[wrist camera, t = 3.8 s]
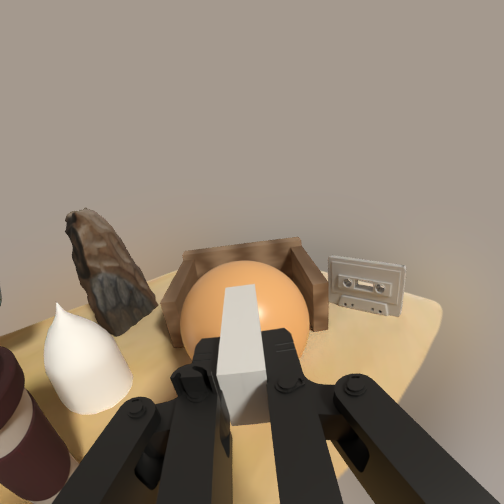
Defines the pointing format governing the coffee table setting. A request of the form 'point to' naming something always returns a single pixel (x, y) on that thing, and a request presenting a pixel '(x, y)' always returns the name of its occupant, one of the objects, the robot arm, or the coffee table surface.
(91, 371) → the teardrop
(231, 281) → the ball
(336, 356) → the coffee table surface
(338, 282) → the cassette
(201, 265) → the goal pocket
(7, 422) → the coffee cup
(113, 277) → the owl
